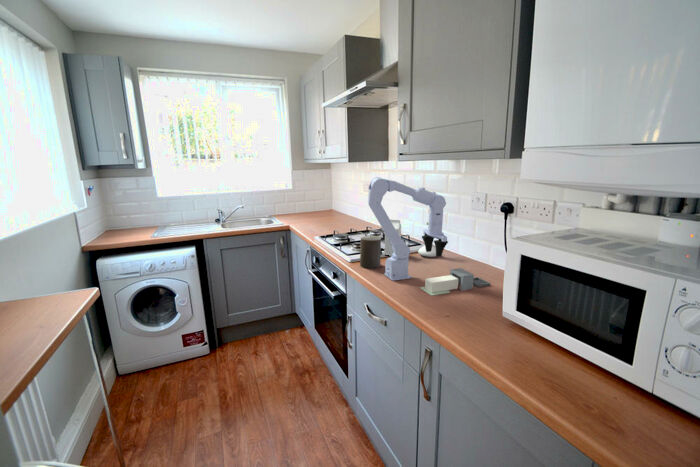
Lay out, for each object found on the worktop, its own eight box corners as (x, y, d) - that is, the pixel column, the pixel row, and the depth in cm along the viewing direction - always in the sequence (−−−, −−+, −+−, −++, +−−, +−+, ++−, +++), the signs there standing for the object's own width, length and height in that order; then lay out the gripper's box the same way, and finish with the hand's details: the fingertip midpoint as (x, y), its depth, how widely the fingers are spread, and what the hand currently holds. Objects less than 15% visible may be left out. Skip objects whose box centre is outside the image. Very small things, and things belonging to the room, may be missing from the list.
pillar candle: (367, 270, 146) (368, 238, 143) (356, 264, 155) (356, 234, 151) (384, 266, 151) (385, 236, 148) (372, 261, 159) (373, 232, 156)
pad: (431, 295, 119) (431, 295, 119) (419, 287, 126) (419, 287, 126) (450, 292, 122) (450, 292, 121) (438, 284, 129) (438, 284, 129)
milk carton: (397, 257, 165) (398, 221, 161) (384, 255, 168) (385, 220, 163) (400, 253, 172) (401, 219, 168) (387, 252, 174) (388, 218, 170)
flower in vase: (441, 258, 162) (445, 210, 157) (419, 258, 164) (421, 210, 158) (437, 251, 175) (440, 206, 169) (416, 251, 176) (418, 206, 170)
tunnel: (462, 290, 123) (463, 276, 122) (449, 283, 131) (450, 269, 129) (472, 288, 125) (473, 274, 124) (459, 281, 132) (460, 268, 131)
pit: (477, 287, 126) (478, 285, 126) (465, 281, 133) (465, 278, 133) (490, 285, 128) (490, 283, 128) (477, 279, 135) (477, 277, 135)
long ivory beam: (431, 292, 121) (432, 282, 120) (424, 288, 125) (425, 278, 124) (457, 288, 125) (458, 278, 124) (450, 284, 129) (451, 275, 128)
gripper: (454, 225, 129) (451, 257, 132) (433, 219, 142) (431, 248, 145) (439, 226, 126) (437, 259, 129) (419, 220, 140) (418, 250, 143)
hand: (433, 253), depth 137 cm, fingers open, 7 cm apart
